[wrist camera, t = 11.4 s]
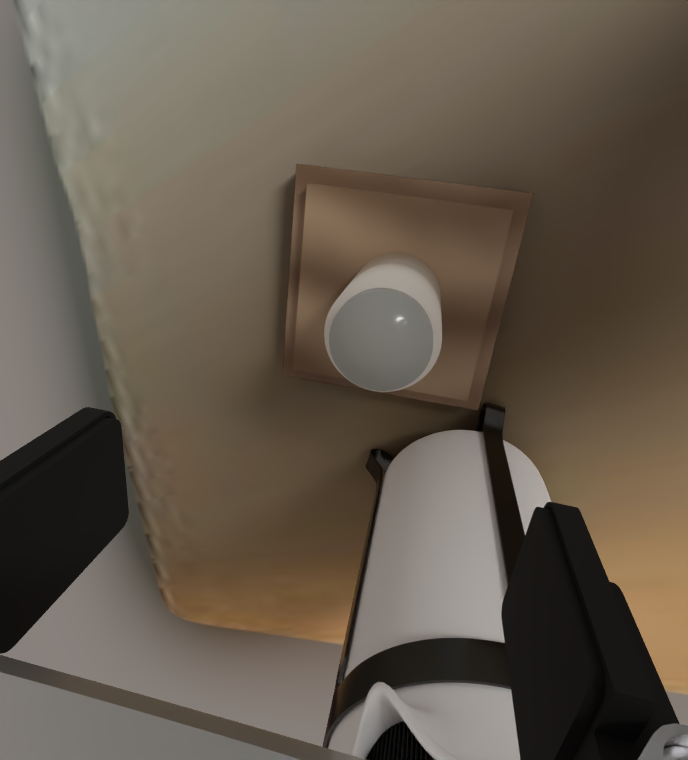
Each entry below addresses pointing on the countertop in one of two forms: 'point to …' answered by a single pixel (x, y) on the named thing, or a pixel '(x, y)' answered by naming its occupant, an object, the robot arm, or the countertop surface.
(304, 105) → the countertop surface
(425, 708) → the coffee press
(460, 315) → the plinth
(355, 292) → the canister
